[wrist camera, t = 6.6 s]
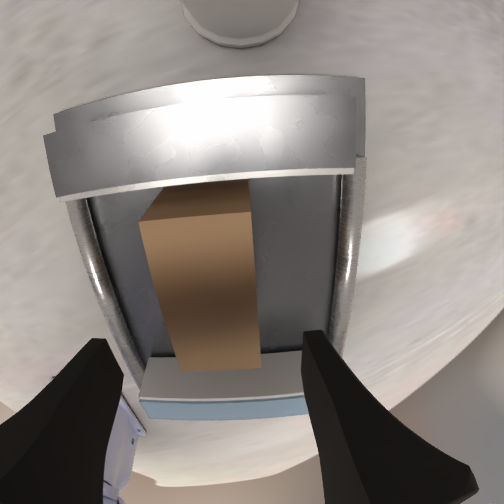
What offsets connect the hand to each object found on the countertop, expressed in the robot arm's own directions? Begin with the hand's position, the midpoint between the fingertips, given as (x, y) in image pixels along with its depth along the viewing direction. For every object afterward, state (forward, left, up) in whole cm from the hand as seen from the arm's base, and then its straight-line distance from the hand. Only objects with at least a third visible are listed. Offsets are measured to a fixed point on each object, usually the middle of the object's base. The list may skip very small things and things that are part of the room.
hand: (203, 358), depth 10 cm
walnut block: (0, 0, -8) cm, 8 cm away
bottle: (+13, -2, -9) cm, 16 cm away
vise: (-1, 0, -8) cm, 8 cm away
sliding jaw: (-9, 0, -8) cm, 12 cm away
